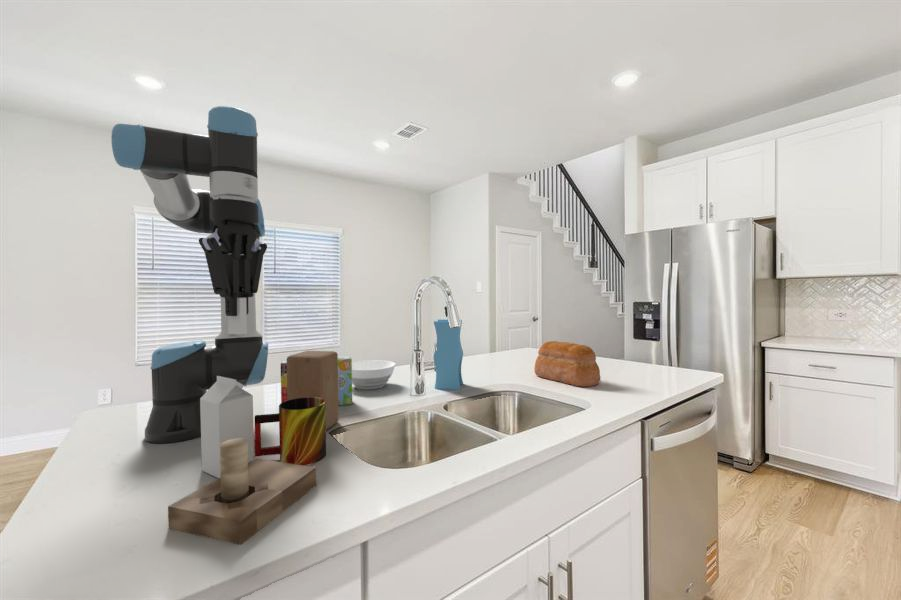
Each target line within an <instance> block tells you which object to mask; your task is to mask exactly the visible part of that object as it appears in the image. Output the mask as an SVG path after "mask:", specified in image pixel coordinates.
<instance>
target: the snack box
mask: <svg viewBox="0 0 901 600" xmlns="http://www.w3.org/2000/svg"><path fill="white" fill-rule="evenodd" d="M352 360H353V359H352V357H351V356H350V355H347V356H345V355H344V356H338V407H339V406H346V405H347V406H349V405H353V384H352V362H353V361H352ZM280 362H281V363H280V400H281V401H280V404H281V403H282V402H285V401H287V359H286V360H284V359H283V360H281V361H280Z"/></svg>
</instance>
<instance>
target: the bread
mask: <svg viewBox="0 0 901 600" xmlns="http://www.w3.org/2000/svg"><path fill="white" fill-rule="evenodd" d="M537 352H538V356H537V357H536V359H535V363H534V367H533V368H534V369H533V371H534V373H535V375H536V376H537V377H539V378H543V379H547V380H551V381H554V382H555V381H556V382H559V383H560V382H561V383H564V384H566V385H570V384H571V385H572V386H575V387H580V386H581V387H582V388H586V387H593V386H597V385H599V384H600V381H601V374H600V373H601V372H600V367H599V365H598V364H597V361H596V359H597V356H596V353H595V351H594V350H593V349H592V348H591V347H590V346H588V345H585V344H578V343H574V342H565V341H557V340H553V341H546V342H544V343H543V344H542V345H541V346H540V347H539V349H538V351H537Z"/></svg>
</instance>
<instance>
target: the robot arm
mask: <svg viewBox="0 0 901 600" xmlns="http://www.w3.org/2000/svg"><path fill="white" fill-rule="evenodd" d="M207 117H208V118H207V119H208V120H207V125H206V127H207V131H208V132H207V133H208V135H203V134H195V133H189V132H182V131H175V130H170V129H163V128H157V127H152V126H146V125H145V126H144V125H142V124H129V123H128V124H127V123H117V124H115V125H114V126H113V127H112V129H111V137H110V138H111V141H110V142H111V148H112V150H111V151H112V154H113V158H114V161H115V163H116V164H117V165H118V166H119V167H121V168H124V169H125V168H127V169H132V170H134V171H138V170H140V172H141V174H142V176H143V178H144V179H145V181H146V183H147V185H148V187H149V188H150V191H151V192H152V194H153V205H154V207H155V209H156V210H157V212H158V213H159V215H160V216H161V217H162V218H164V219H165V220H166V221H167V222H169V223H171V224H173V225H175V226H177V227H178V228H181V229H184V230H186V231H190V232H192V233H198V234H209V235H207V236H206V237H199V239H198V243H199V245H200V247H201V249H202V251H203V252H204V256H205V259H206V263H207V268H208V273H209V276H210V280H211V285H212V289H213V294H216V295H219V297H220V328H221V329H220V330H221V331H220V333H219V334H218V335H217V336H216V337H214V344H213V345H207V343H206V341H205V340H202V339H201V340H191V341H189V340H188V341H184V342H178V343H174V344H169V345H165V346H161V347H159V348H157V349H155V350H154V351H153V352H152V354H151V366H150V370H151V389H152V390H151V391H152V394H151V395H152V409H151V411H150V414H149V417H148V420H147V424H146V427H145V428H144V440H145V441H146V442H147V443H148V442H149V443H151V444H168V443H176V442H182V441H187V440H191V439H195V438H196V439H197V437H201V415H200V398H201V397H202V396H203V395H204V394H205V393H206V392H207V391H208V390H209V389H210V388H211V387H212V386H213V385H214V384H215V383H216V381H217V376H221V377H225V378H230V379H235V380H236V382H239V383H241V384H242V385H243V387H247V386H253V385H258V384H261V383H262V382H263V381H264V379H265V377H266V371H267V365H268V354H269V343H268V342H267V341H263V334H261V333H260V332H259V331H258V330H257V311H256V310H257V309H256V308H257V307H256V294H257V292H258V291H259V285H260V279H261V274H262V273H261V272H262V266H263V262H264V261H263V260H264V255H265V253H266V251H267V249H268V245H267V243H265V242H264V243H263V242H261V240H260V239H261V238H262V237H265V234H266V230H265V229H266V227H265V219H264V213H263V207H262V204H261V201H260V200H259V189H258V186H259V185H258V184H259V183H258V182H259V181H258V180H259V179H258V136H259V134H258V131H257V130H258V129H257V120H256V118H255V116H254V115H253V114H252V113H250V112H248V111H246V110H244V109H241V108H238V107H232V106H225V105H221V106H218V105H217V106H213V107H212V108H210V110H208V115H207ZM188 175H189V176H196V177H198V176H199V177H206V178H209V179H208V180H209V190H204V189H203V190H202V189H193V188H192V187H191V185H190V181H189V178H188Z"/></svg>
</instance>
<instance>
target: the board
mask: <svg viewBox="0 0 901 600" xmlns="http://www.w3.org/2000/svg"><path fill="white" fill-rule="evenodd" d="M248 483H249V495H248V496H247V498H245V499H244V500H242V501H238V502H233V503H229V504H226V503H223V502H222V501H221V478H218V479H215V480H213V481H212V482H210V483H209V484H207V485H205V486H203V487H201V488H199V489H197V490H196V491H193V492H192V493H189V494H188V495H186V496H185V497H183V498H180V499H178V500H177V501H175V502H173V503H171V504H170V505H168V506H167V512H168V513H167V517H168V520H167V521H168V522H167V523H168V529H171V530H175V531H179V532H184V533H188V534H192V535H196V536H201V537H205V538H210V539H214V540H218V541H223V542H227V543H230V544H231V543H232V544H235V545H242V544H243V543H245V542H246V541H248V540H249V538H251V537H252V536H254V535H256V533H257V532H259V531H260V530H261V529H263V528H264V527H265V526H266V525H268V524H270V522H272V521H273V520H274V519H276V518H277V517H278V516H279V515H281V514H282V513H283V512H284V511H286V510H287V509H288V508H289V507H291V506H292V505H293V504H295V503H296V502H297V501H298V500H300V499H301V498H302V497H303V496H305V495H306V494H308V493H309V492H310V491H311V490H312V489H314V488H315V487H316V486H317V467H316V466H310V465H305V466H304V465H297V464H290V463H283V462H280V461H275V460H270V459H261V458H254V460H252V461H250V462H248Z"/></svg>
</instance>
